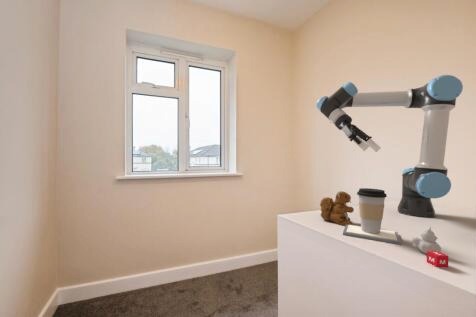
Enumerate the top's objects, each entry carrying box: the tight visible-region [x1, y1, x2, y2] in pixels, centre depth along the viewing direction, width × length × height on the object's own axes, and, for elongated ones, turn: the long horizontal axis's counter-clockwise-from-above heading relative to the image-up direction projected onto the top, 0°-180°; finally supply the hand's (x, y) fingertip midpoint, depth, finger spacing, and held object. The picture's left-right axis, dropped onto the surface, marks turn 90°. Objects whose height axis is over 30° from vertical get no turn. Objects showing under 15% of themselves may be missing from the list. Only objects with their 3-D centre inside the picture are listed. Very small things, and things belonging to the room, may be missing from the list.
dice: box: [426, 251, 449, 268], centre depth 60 cm, size 3×3×3 cm
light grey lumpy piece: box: [411, 226, 442, 255], centre depth 67 cm, size 5×7×8 cm
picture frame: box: [342, 224, 402, 246], centre depth 83 cm, size 17×12×1 cm
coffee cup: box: [356, 187, 388, 234], centre depth 83 cm, size 9×9×15 cm
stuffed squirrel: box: [319, 191, 355, 226], centre depth 100 cm, size 10×14×13 cm
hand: (372, 149), depth 103 cm, fingers open, 13 cm apart
